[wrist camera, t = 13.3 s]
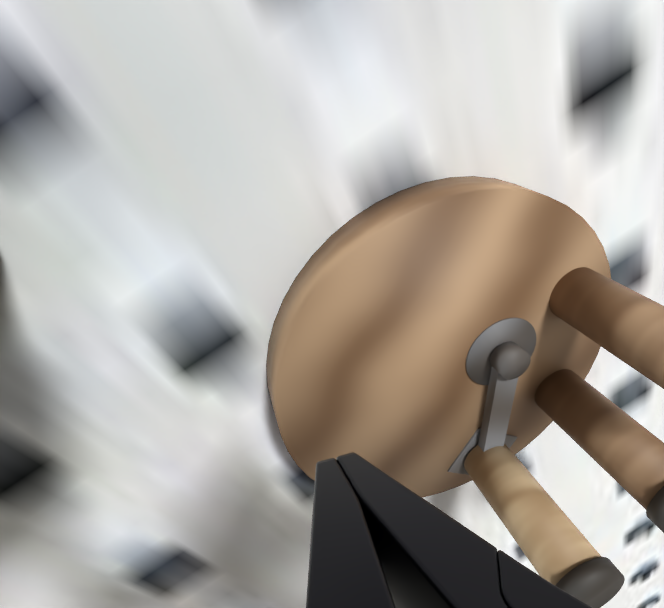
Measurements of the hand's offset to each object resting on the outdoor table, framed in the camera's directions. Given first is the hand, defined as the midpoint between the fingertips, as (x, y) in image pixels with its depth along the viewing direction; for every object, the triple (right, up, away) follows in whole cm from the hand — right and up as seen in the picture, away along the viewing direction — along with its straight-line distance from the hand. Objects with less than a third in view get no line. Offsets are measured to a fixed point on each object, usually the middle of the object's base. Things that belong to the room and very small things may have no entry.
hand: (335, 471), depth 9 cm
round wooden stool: (+6, +1, +17) cm, 18 cm away
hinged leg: (+9, -3, +17) cm, 20 cm away
